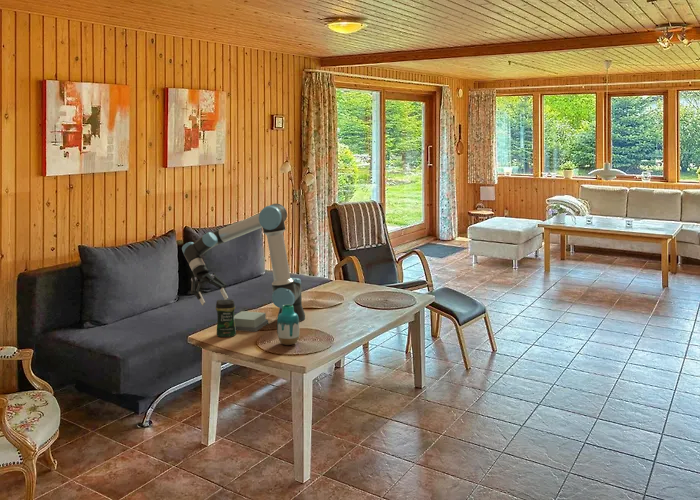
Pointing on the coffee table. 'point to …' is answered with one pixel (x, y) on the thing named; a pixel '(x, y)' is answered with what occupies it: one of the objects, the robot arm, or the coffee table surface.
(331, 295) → the coffee table surface
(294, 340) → the vase
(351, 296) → the coffee table surface
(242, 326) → the podium
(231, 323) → the coffee jar
